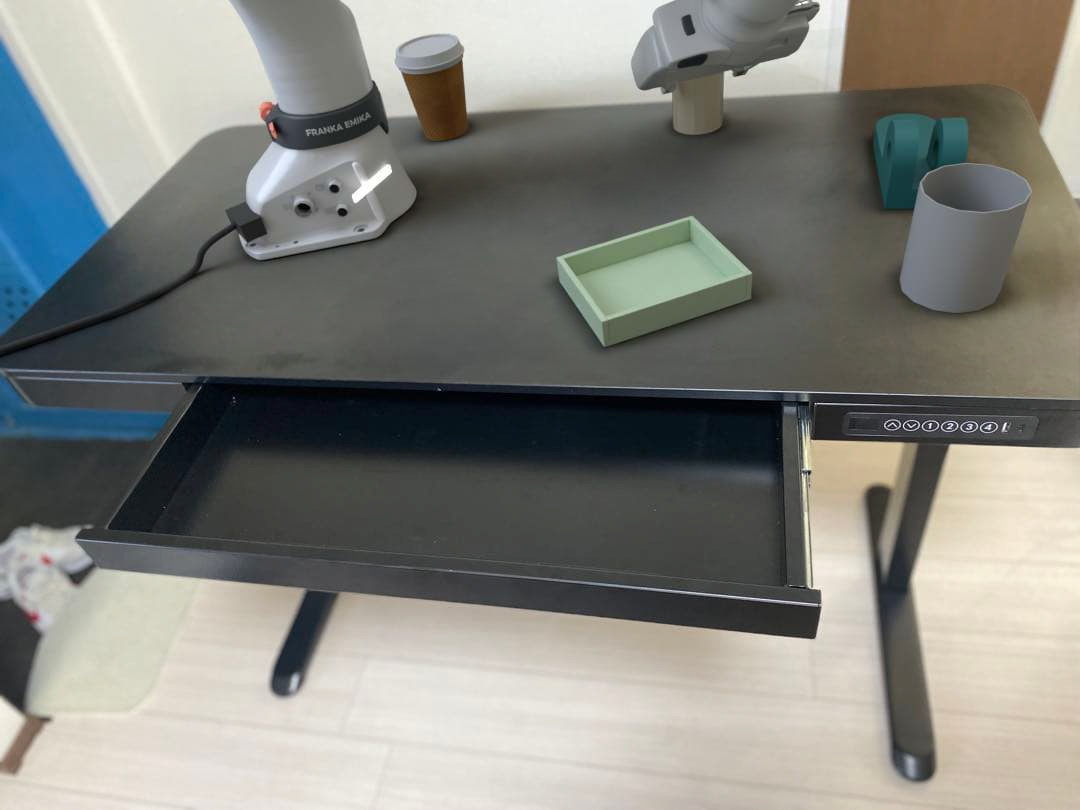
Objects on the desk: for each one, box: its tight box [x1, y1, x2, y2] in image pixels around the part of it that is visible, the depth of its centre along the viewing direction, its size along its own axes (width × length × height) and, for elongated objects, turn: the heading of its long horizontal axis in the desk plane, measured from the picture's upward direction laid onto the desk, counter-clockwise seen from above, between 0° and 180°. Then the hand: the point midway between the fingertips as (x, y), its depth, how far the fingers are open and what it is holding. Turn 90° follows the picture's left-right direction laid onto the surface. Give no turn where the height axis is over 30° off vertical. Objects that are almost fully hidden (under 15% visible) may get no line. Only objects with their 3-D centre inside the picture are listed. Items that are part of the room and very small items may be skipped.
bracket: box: [872, 112, 969, 210], centre depth 86 cm, size 18×7×8 cm, turn 168°
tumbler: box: [671, 72, 725, 136], centre depth 101 cm, size 6×6×9 cm
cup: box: [899, 162, 1033, 314], centre depth 70 cm, size 8×8×10 cm
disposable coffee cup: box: [394, 33, 469, 142], centre depth 109 cm, size 10×10×12 cm
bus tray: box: [555, 215, 753, 348], centre depth 78 cm, size 15×12×3 cm
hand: (701, 79), depth 99 cm, fingers open, 8 cm apart
